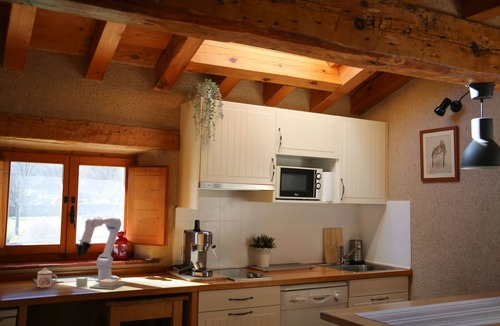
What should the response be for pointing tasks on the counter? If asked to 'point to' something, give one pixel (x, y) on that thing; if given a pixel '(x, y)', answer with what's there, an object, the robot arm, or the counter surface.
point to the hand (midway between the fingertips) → (80, 255)
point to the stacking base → (108, 284)
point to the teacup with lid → (45, 278)
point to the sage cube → (81, 281)
